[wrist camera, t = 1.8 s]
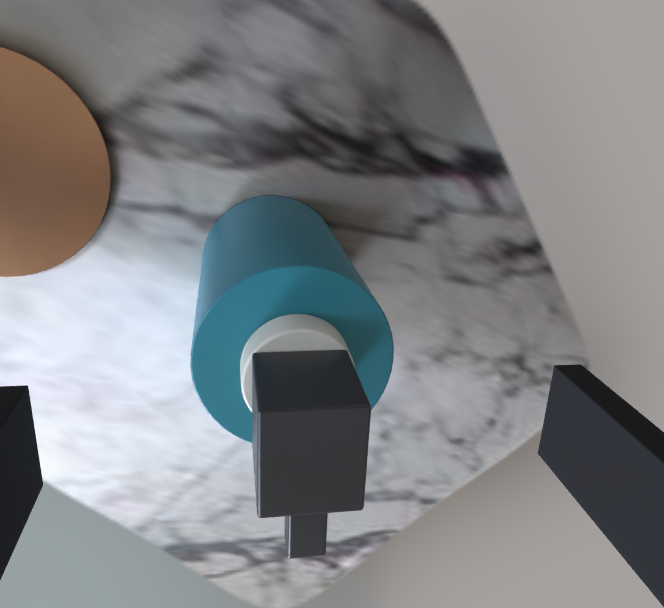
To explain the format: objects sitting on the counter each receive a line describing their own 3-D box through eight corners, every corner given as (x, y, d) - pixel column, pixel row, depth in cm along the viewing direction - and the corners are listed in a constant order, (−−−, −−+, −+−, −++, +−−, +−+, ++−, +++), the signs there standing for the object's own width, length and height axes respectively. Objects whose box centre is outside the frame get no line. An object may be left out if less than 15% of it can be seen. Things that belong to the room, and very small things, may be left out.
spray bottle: (200, 194, 25) (172, 329, 12) (340, 196, 26) (453, 322, 13) (205, 341, 28) (187, 584, 15) (333, 337, 29) (423, 562, 16)
